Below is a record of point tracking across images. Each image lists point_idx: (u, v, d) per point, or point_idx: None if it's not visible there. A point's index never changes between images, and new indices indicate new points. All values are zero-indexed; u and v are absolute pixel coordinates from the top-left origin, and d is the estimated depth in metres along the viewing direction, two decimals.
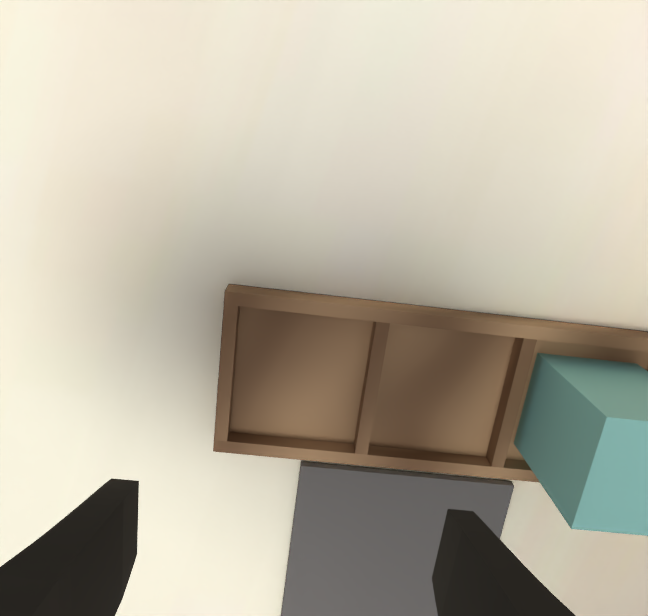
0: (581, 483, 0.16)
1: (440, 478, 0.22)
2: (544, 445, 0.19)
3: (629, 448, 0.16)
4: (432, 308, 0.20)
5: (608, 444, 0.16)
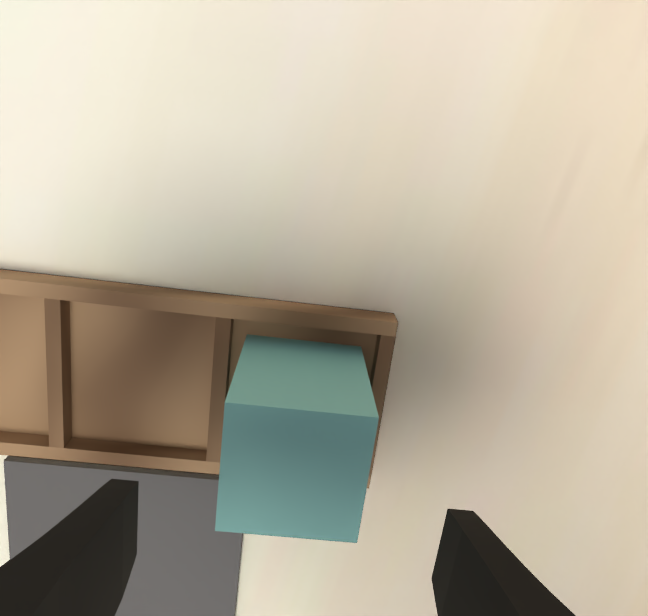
0: (219, 478, 0.14)
1: (163, 474, 0.20)
2: None
3: (260, 438, 0.14)
4: (121, 284, 0.18)
5: (234, 434, 0.14)
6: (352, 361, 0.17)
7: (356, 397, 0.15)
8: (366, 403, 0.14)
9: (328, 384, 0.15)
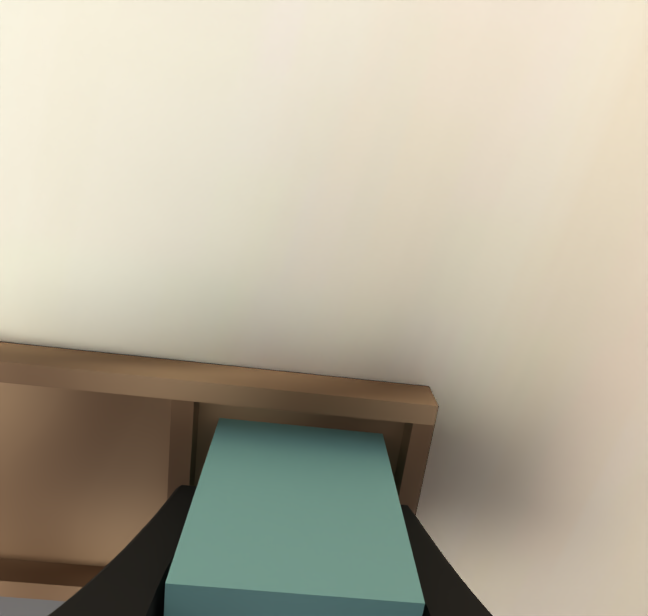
0: None
1: None
2: None
3: None
4: (35, 348, 0.12)
5: None
6: (373, 465, 0.12)
7: (384, 551, 0.09)
8: (401, 566, 0.09)
9: (339, 523, 0.10)
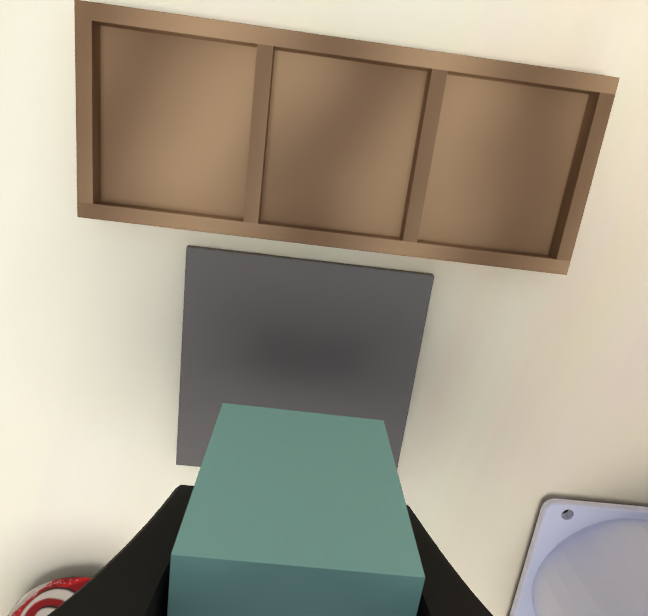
0: None
1: (348, 265, 0.19)
2: None
3: (231, 608, 0.08)
4: None
5: (187, 602, 0.08)
6: (374, 450, 0.12)
7: (385, 529, 0.09)
8: (402, 543, 0.09)
9: (341, 502, 0.10)
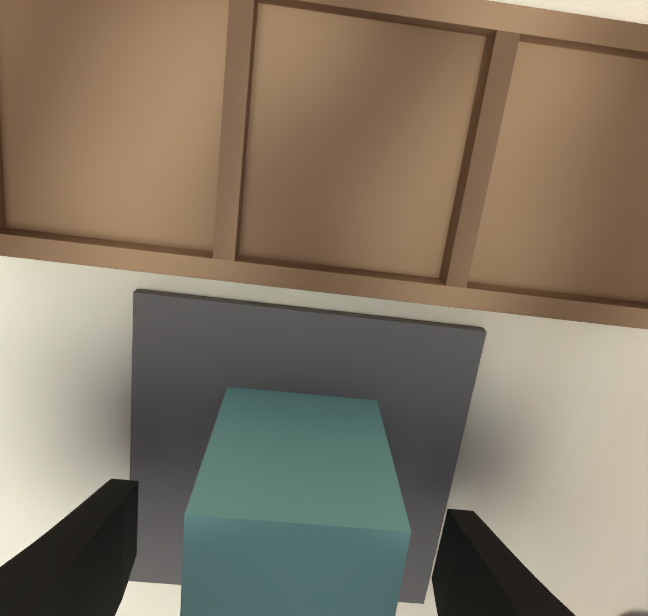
0: (182, 614, 0.10)
1: (366, 317, 0.13)
2: None
3: (238, 562, 0.09)
4: None
5: (200, 558, 0.09)
6: (367, 425, 0.13)
7: (376, 492, 0.10)
8: (391, 504, 0.10)
9: (337, 471, 0.11)
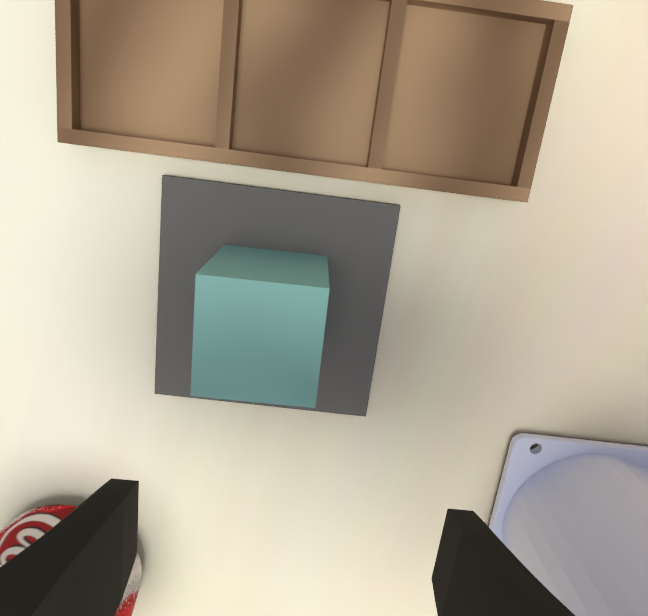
0: (193, 348, 0.17)
1: (318, 195, 0.20)
2: None
3: (227, 308, 0.16)
4: None
5: (204, 304, 0.16)
6: (316, 262, 0.19)
7: (313, 278, 0.17)
8: (321, 281, 0.16)
9: (290, 271, 0.17)
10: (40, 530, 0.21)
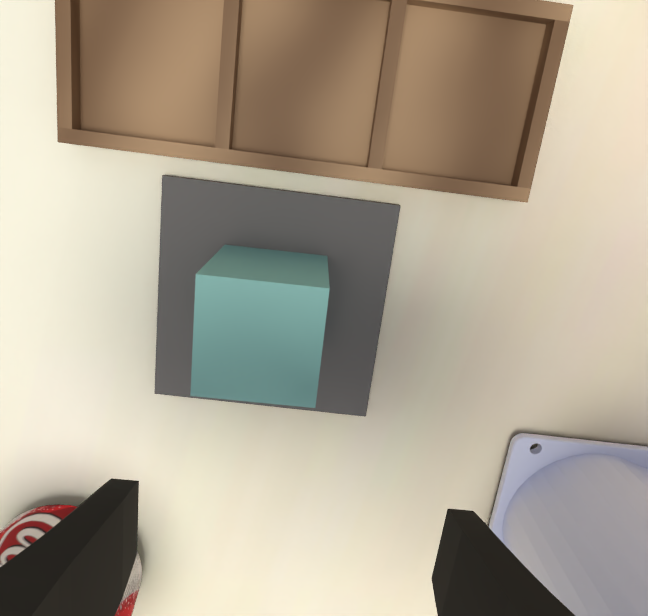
0: (193, 348, 0.17)
1: (318, 195, 0.20)
2: None
3: (227, 308, 0.16)
4: None
5: (205, 304, 0.16)
6: (316, 262, 0.19)
7: (313, 278, 0.17)
8: (321, 281, 0.16)
9: (290, 271, 0.17)
10: (40, 530, 0.21)
